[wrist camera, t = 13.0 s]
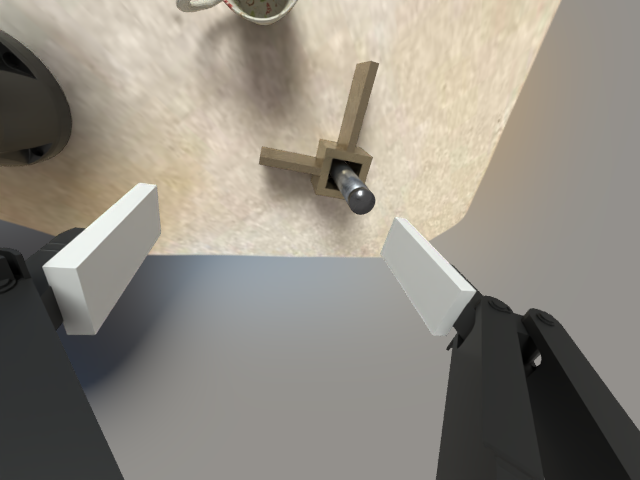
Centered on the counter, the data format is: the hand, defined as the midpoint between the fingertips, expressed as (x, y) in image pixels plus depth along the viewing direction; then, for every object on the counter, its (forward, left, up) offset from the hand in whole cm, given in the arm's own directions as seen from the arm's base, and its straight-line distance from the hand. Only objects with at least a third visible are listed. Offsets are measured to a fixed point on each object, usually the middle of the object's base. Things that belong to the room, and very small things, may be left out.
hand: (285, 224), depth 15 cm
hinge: (+5, +3, -27) cm, 27 cm away
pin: (+9, -2, -27) cm, 28 cm away
